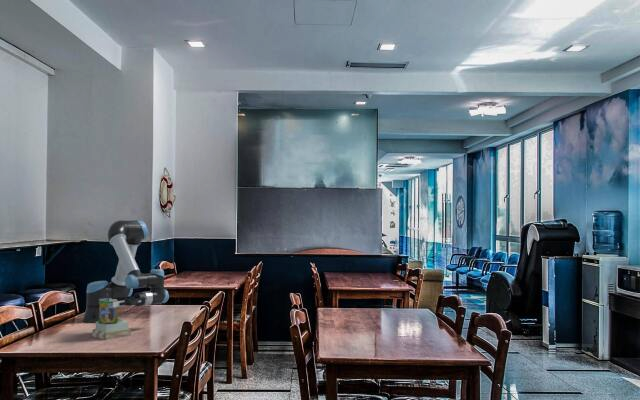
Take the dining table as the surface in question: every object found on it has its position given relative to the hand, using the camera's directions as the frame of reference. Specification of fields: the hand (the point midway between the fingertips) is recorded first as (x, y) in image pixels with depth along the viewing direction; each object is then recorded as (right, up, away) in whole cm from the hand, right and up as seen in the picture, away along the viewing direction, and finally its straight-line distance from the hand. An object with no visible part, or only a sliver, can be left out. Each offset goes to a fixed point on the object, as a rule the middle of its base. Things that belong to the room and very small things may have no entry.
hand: (106, 303), depth 278 cm
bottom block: (+2, -18, +2) cm, 18 cm away
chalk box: (+1, -10, 0) cm, 10 cm away
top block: (+2, -14, +2) cm, 15 cm away
